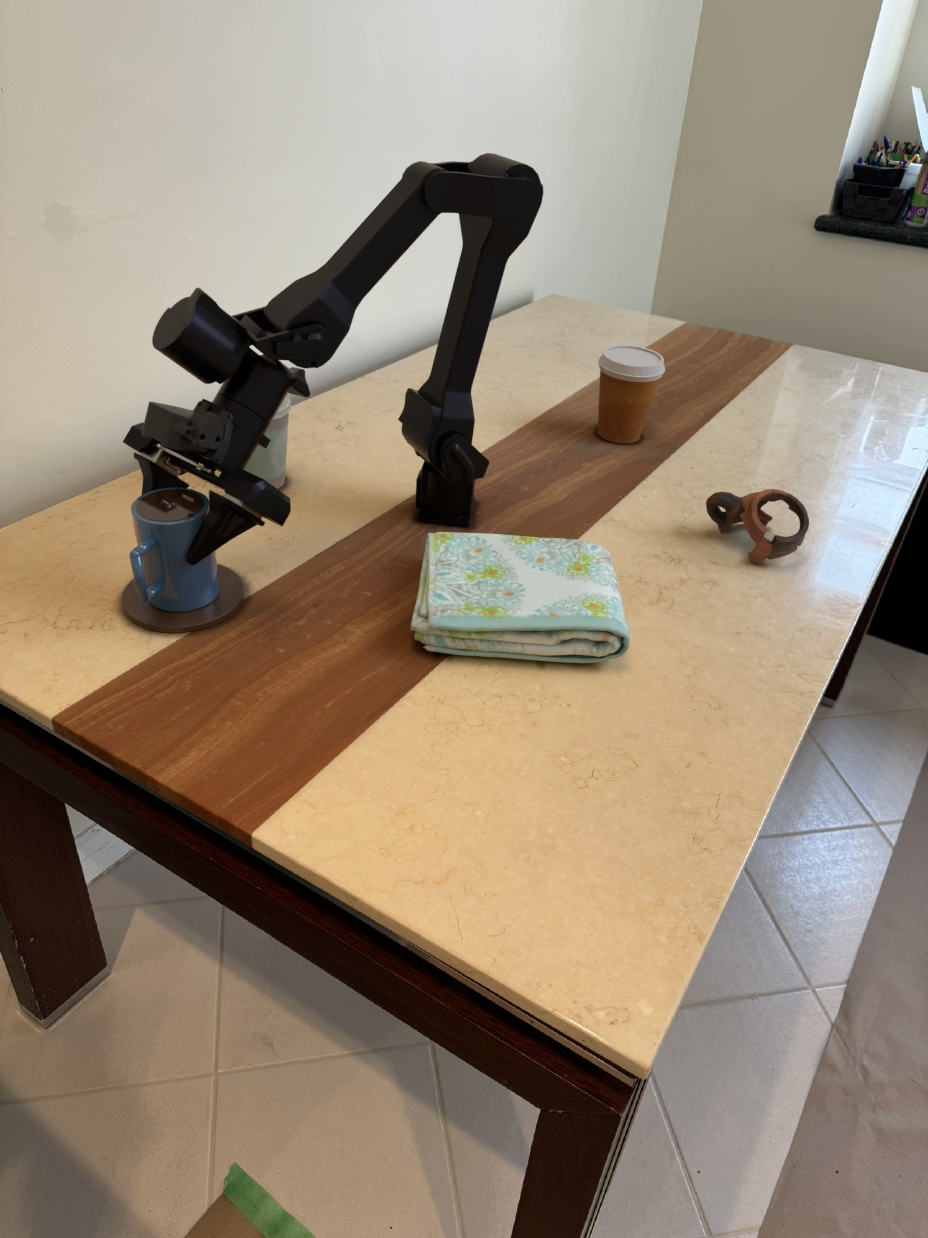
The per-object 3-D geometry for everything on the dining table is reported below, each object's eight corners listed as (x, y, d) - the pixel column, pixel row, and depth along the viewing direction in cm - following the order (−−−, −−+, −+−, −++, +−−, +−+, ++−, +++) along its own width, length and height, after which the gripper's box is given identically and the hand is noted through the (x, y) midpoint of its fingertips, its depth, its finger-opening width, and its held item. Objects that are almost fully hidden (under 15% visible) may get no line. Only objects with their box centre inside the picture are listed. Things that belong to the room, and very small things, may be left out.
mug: (172, 565, 93) (158, 480, 87) (232, 580, 91) (223, 495, 85) (112, 618, 85) (93, 529, 79) (178, 636, 83) (163, 546, 77)
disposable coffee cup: (579, 439, 127) (591, 359, 120) (596, 416, 135) (609, 339, 128) (642, 454, 125) (659, 372, 118) (656, 429, 132) (673, 351, 125)
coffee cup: (280, 502, 107) (275, 410, 100) (215, 492, 108) (204, 399, 101) (305, 472, 113) (301, 383, 106) (242, 462, 114) (234, 373, 107)
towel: (421, 556, 99) (423, 517, 96) (607, 570, 99) (615, 531, 96) (408, 656, 84) (410, 614, 81) (626, 672, 85) (636, 631, 82)
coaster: (259, 573, 94) (258, 567, 94) (221, 640, 85) (220, 634, 84) (151, 559, 95) (150, 554, 94) (101, 624, 85) (100, 618, 85)
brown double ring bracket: (785, 530, 111) (821, 496, 103) (772, 592, 107) (809, 561, 99) (698, 494, 110) (728, 458, 103) (682, 555, 106) (712, 521, 99)
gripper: (125, 341, 83) (41, 483, 82) (261, 397, 74) (170, 556, 73) (199, 399, 93) (126, 526, 92) (327, 454, 84) (248, 595, 83)
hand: (163, 548), depth 85 cm, fingers closed on mug, 7 cm apart
